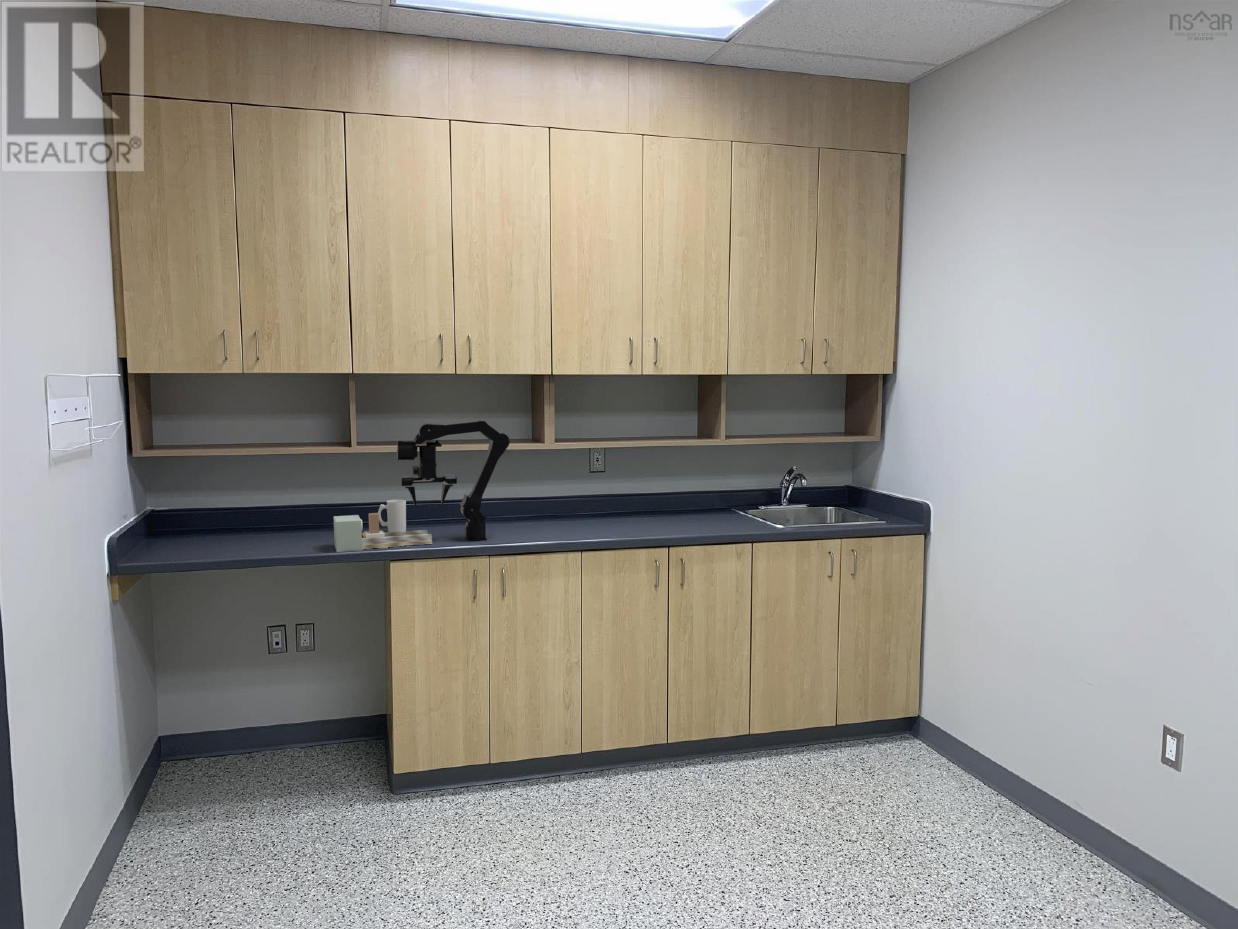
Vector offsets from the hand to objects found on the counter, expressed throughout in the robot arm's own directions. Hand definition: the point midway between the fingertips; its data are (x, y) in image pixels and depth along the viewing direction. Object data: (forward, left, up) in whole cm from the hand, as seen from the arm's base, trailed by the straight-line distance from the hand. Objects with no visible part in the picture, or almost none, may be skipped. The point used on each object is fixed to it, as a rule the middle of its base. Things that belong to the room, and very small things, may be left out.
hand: (428, 504), depth 288 cm
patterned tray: (+11, 0, -13) cm, 17 cm away
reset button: (+24, 0, -11) cm, 27 cm away
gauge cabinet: (+27, 0, -13) cm, 30 cm away
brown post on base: (+18, 0, -11) cm, 22 cm away
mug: (+10, -21, -13) cm, 27 cm away
